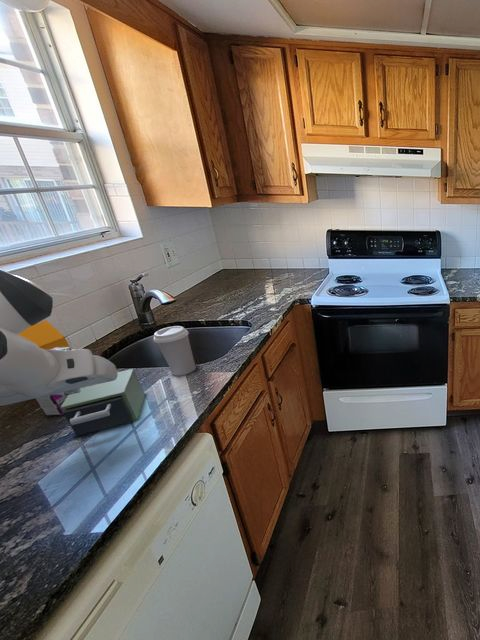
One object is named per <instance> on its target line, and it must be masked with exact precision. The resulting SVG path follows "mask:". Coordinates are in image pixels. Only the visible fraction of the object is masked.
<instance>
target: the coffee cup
mask: <svg viewBox="0 0 480 640" xmlns="http://www.w3.org/2000/svg"><path fill="white" fill-rule="evenodd" d="M189 335H190V332H189V331H188V330H187V329H186V328H185V327H184V326H181V325H173V326H167V327H164V328H161V329H159V330H157V331H155V332H154V333H153V339H152V341H153V343H156V345H157V347H158V348H159V350H160V352H161V354H162V357H163V358H164V359H165V362H166V363H167V365H168V367H169V368H170V371H171V372H172V374H173V375H174V376H185V375H188V374H191V373H193V372H194V371H196V368H197V367H196V366H197V365H196V363H195V359H194V354H193V350H192V348H191V347H192V346H191V344H190V339H189Z"/></svg>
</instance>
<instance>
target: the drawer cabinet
mask: <svg viewBox="0 0 480 640" xmlns="http://www.w3.org/2000/svg"><path fill="white" fill-rule="evenodd" d="M80 389H81V392H79V393H75V394H71V395H68V396H67V398H66V399H65V401H64V403H63V404H62V406H61V407H60V408H61V409H62V411H63V413H64V411H65V410H70V409H71V408H72V407H76V406H80V405H84V404H88V403H92V402H96V401H100V400H104V399H108V398H112V397H116V396H121V395H122V397H123V399H124V401H125V403H126V405H127V407H128V409H129V411H130V413H131V415H132V417H133V420H132V421H131V422H135V421H138V419H139V416H140V413H141V409H142V406H143V403H144V399H145V396H146V393H145V391H144V389H143V387H142V384H141V383H140V380H139V377H138V375H137V374H136V371H135V369H134V368H130V369H127V370H122V371H117V378H116V379H115V380H114V381H110V382H105V383H101V384H96V385H92V386H88V387H83V388H80ZM126 423H128V422H126ZM126 423H125V424H126ZM115 426H117V425H115ZM115 426H114V427H115Z"/></svg>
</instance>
